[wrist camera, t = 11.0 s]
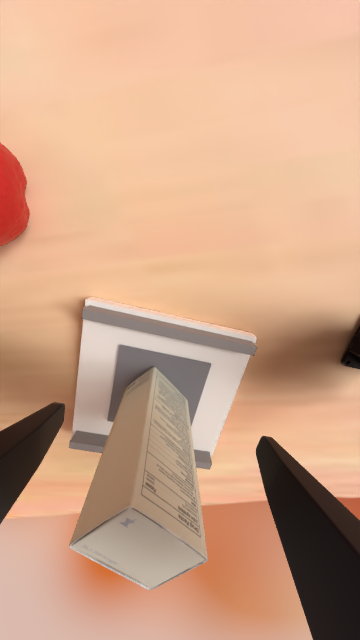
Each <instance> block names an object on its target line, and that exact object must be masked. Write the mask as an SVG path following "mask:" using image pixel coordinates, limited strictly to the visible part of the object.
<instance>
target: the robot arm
mask: <svg viewBox="0 0 360 640" xmlns="http://www.w3.org/2000/svg"><path fill="white" fill-rule="evenodd" d="M341 363H342V364H343V365H345V366H348V367H352V368H357V369H360V327H359V329H358V331H357V333H356V334H355V336H354V338H353V340H352V342H351V344H350V345H349V347H348V349H347V351H346V353H345V355H344V357H343V358H342V361H341ZM64 410H65V405H64V404H63V403H57V402H54V403H51V404H50V405H48V406H46V407H44V408H42V409H40V410H39V411H37V412H35V413H33V414H31V415H29V416H28V417H26V418H24V419H22V420H20V421H18V422H17V423H15V424H13V425H11V426H9V427H7V428H6V429H4V430H2V431H0V524H1V522H2V521H3V519H4V518H5V516H6V515H7V513H8V512H9V510H10V509H11V507H12V506H13V504H14V503H15V501H16V500H17V498H18V497H19V495H20V494H21V492H22V491H23V489H24V488H25V486H26V485H27V483H28V482H29V480H30V479H31V477H32V476H33V474H34V473H35V471H36V470H37V468H38V467H39V465H40V463H41V462H42V460H43V458H44V456H45V455H46V453H47V451H48V449H49V447H50V446H51V444H52V442H53V440H54V438H55V436H56V435H57V433H58V431H59V429H60V427H61V426H62V423H63V421H64ZM256 456H257V460H258V464H259V468H260V472H261V477H262V481H263V485H264V489H265V493H266V496H267V499H268V503H269V505H270V509H271V512H272V515H273V518H274V521H275V524H276V527H277V530H278V533H279V536H280V540H281V543H282V545H283V549H284V552H285V555H286V558H287V561H288V564H289V567H290V570H291V573H292V576H293V580H294V583H295V586H296V589H297V592H298V595H299V598H300V601H301V604H302V607H303V610H304V613H305V616H306V619H307V622H308V625H309V628H310V632H311V635H312V638H313V640H360V520H358V519H357V518H356V517H355V516H354V515H353V514H352V513H351V512H350V511H349V510H348V509H347V508H346V507H344V505H343V504H342V503H341V502H340V501H338V500H337V499H336V498H335V497H334V496H333V495H332V494H331V493H330V492H329V491H328V490H327V489H326V488H325V487H324V486H323V485H322V484H321V483H319V482H318V481H317V480H316V479H315V478H314V477H313V476H312V475H311V474H310V473H309V472H308V471H307V470H306V469H305V468H304V467H303V466H301V465H300V464H299V463H298V462H297V461H296V460H295V459H294V458H293V457H292V456H291V455H290V454H289V453H288V452H287V451H286V450H285V449H283V448H282V447H281V446H280V445H279V444H278V443H277V442H276V441H275V440H274V439H273V438H271V437H267V436H262V437H261V439H260V441H259V443H258V446H257V448H256Z"/></svg>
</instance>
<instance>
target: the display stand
mask: <svg viewBox="0 0 360 640" xmlns="http://www.w3.org/2000/svg"><path fill="white" fill-rule="evenodd" d="M82 319H83V328H82V338H81V348H80V358H79V368H78V378H77V388H76V398H75V408H74V418H73V428H72V438H71V440H70V444H69V448H72V449H78V450H85V451H92V452H98V453H102V452H103V450H104V447H105V444H106V442H107V439H108V436H109V433H110V431H111V428H112V425H113V422H114V420H115V417H116V414H117V411H118V409H119V406H120V403H121V400H122V398H123V395H124V392H125V389H126V387H127V386H128V385H130V384H131V383H132V382H133V381H135V380H136V379H137V378H139V377H140V376H141V375H143V374H144V373H145V372H147V371H148V370H149V369H151V368H152V367H156V368H157V369H158V370H159V371H160V372H161V373H162V374H163V375H164V376H165V377H166V378H167V379H168V380H169V381H170V382H171V383H172V384H173V385H174V386H175V387H176V388H177V389H178V390H179V392H180V393H181V394H182V395H183V396H184V397H185V398H186V399H187V401H188V408H189V416H190V423H191V431H192V440H193V447H194V455H195V463H196V467H197V468H203V469H210V467H211V465H212V462H211V457H212V454H213V452H214V449H215V447H216V444H217V441H218V439H219V436H220V434H221V431H222V428H223V426H224V423H225V421H226V418H227V415H228V413H229V410H230V408H231V405H232V402H233V400H234V397H235V395H236V392H237V389H238V387H239V384H240V382H241V379H242V376H243V374H244V371H245V369H246V366H247V363H248V361H249V358H250V356H251V355H252V356H254V354H255V352H256V349H257V346H256V345H255V343H256V340H257V337H256V336H255V335H253V334H252V333H250V332H245V331H241V330H237V329H232V328H228V327H223V326H219V325H215V324H210V323H206V322H201V321H197V320H193V319H188V318H184V317H179V316H175V315H171V314H166V313H162V312H157V311H153V310H149V309H144V308H140V307H135V306H131V305H127V304H122V303H118V302H113V301H109V300H105V299H100V298H96V297H90V298H87V299H85V308H83V311H82Z"/></svg>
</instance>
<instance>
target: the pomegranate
mask: <svg viewBox="0 0 360 640" xmlns="http://www.w3.org/2000/svg"><path fill="white" fill-rule="evenodd" d="M26 184H27V180H26V177H25V175H24V172H23V169H22V167H21V165H20V163H19V161H18V160H17V158H16V157H15V156H14V155H13V154H12V153H11V152H10V151H9V150H8V149H7V148H6V147H5V146H4V145H2V144H1V143H0V246H2V245H4V244H7V243H8V242H10V241H12V240H14V239H15V238H17V237H18V236H19V235H20V234H21V233H22V232H23V231H24V230H25V229H26V227H27V223H28V219H29V208H28V206H27V203H26V199H25V189H26Z"/></svg>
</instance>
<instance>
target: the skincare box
mask: <svg viewBox="0 0 360 640" xmlns="http://www.w3.org/2000/svg"><path fill="white" fill-rule="evenodd" d="M69 547H70V548H71V549H73V550H75V551H77V552H78V553H80V554H82V555H84V556H86V557H88V558H89V559H91V560H93V561H95V562H97V563H99V564H100V565H103V566H105V567H106V568H108V569H110V570H112V571H114V572H115V573H118V574H120V575H122V576H124V577H125V578H127V579H129V580H131V581H133V582H135V583H137V584H138V585H140V586H142V587H144V588H146V589H148V590H152V589H155V588H157V587H159V586H160V585H162V584H164V583H166V582H168V581H170V580H172V579H174V578H175V577H178V576H179V575H182V574H184V573H186V572H188V571H189V570H191V569H193V568H195V567H197V566H199V565H201V564H203V563H205V562H207V560H208V557H207V549H206V541H205V533H204V525H203V519H202V510H201V502H200V494H199V486H198V478H197V470H196V463H195V455H194V447H193V440H192V431H191V423H190V416H189V408H188V401H187V399H186V398H185V397H184V396H183V395H182V394H181V393H180V392H179V390H178V389H177V388H176V387H175V386H174V385H173V384H172V383H171V382H170V381H169V380H168V379H167V378H166V377H165V376H164V375H163V374H162V373H161V372H160V371H159V370H158V369H157V368H156V367H152V368H151V369H149V370H148V371H147V372H145V373H144V374H143V375H141V376H140V377H139V378H137V379H136V380H135V381H133V382H132V383H131V384H130V385H128V386H127V387H126V389H125V392H124V395H123V398H122V400H121V403H120V406H119V409H118V411H117V414H116V417H115V420H114V422H113V425H112V428H111V431H110V433H109V436H108V439H107V442H106V444H105V447H104V450H103V452H102V455H101V458H100V461H99V464H98V467H97V469H96V472H95V475H94V478H93V480H92V483H91V486H90V489H89V491H88V494H87V497H86V500H85V503H84V506H83V508H82V511H81V514H80V517H79V520H78V523H77V525H76V528H75V531H74V534H73V537H72V539H71V542H70V545H69Z"/></svg>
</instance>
